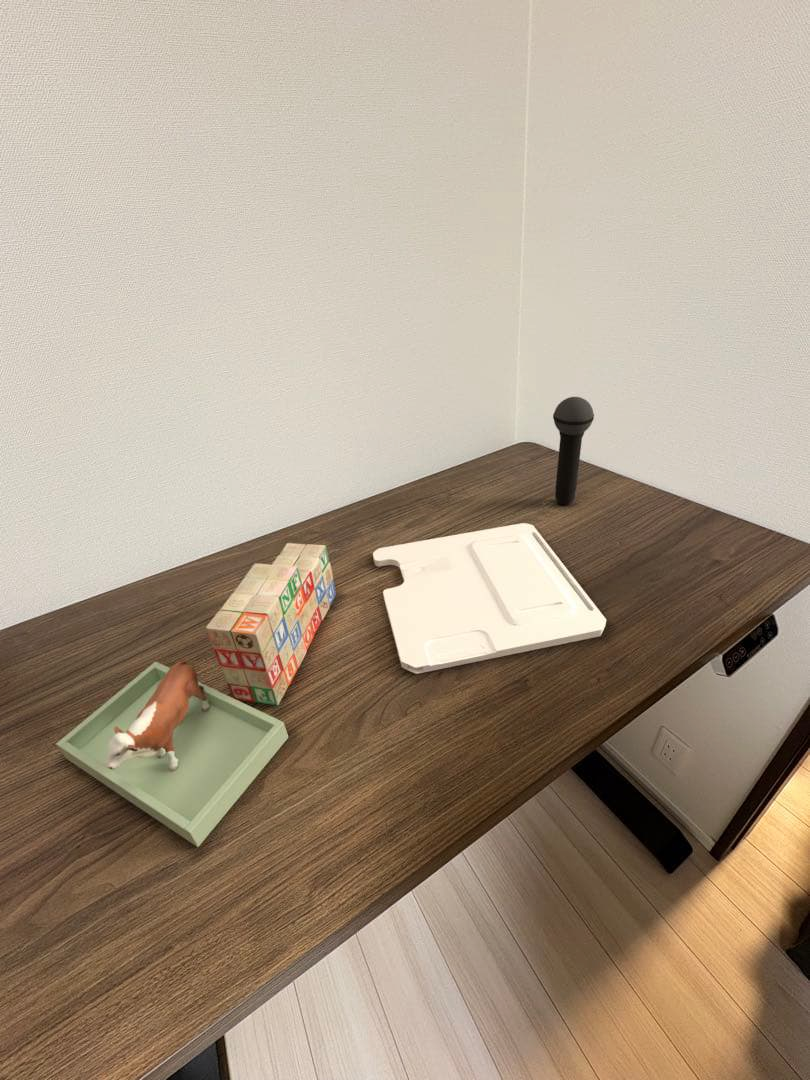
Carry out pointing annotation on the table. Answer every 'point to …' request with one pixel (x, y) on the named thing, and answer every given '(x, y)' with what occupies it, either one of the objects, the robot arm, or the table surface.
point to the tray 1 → (180, 755)
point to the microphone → (570, 444)
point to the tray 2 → (483, 598)
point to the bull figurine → (158, 719)
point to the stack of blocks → (272, 622)
